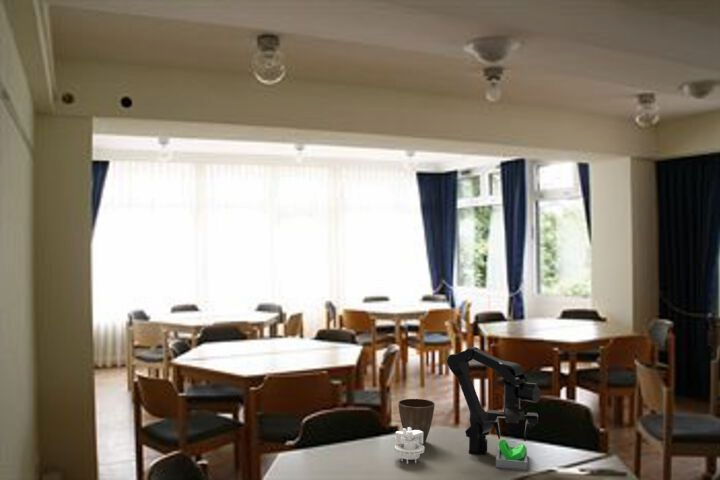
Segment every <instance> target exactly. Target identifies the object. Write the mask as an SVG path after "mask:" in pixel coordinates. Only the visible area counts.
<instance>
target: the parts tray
mask: <svg viewBox="0 0 720 480" xmlns="http://www.w3.org/2000/svg"><path fill="white" fill-rule="evenodd" d="M509 446H510V445H509ZM516 447H517V446H512V445H511V446H510V448H511V449H514V448H516ZM526 449H527V447H526ZM495 469H502V470H503V469H505V470H506V469H507V470H513V471H514V470H515V471H516V470H517V471H525V472H526V471H527V472H528V449H527V451H526V453H525V455H524V456H523V458H521V459H519V460H506V459H505V457H504V455H503V454H502V452H501V450H500V448H499V445H498V444H497V446H496V453H495Z"/></svg>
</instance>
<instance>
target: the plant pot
mask: <svg viewBox="0 0 720 480" xmlns="http://www.w3.org/2000/svg"><path fill="white" fill-rule="evenodd" d="M397 404H398V413H399V418H400V419H399V420H400V424H401V427H402V429H403V428H405V429H407V428H408V427H410V428H412V430H420V431H422V432H423V444H421V443H418V444H421V445H424V444H426V441H427V439H428V435H429V433H430V430H431V426H432V422H433V417H434V411H435V405H436V403H435V402H434V401H433V400H429V399H423V398H405V399H401V400H399V401H398V402H397ZM412 430H411V431H412Z"/></svg>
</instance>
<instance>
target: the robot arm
mask: <svg viewBox="0 0 720 480" xmlns="http://www.w3.org/2000/svg"><path fill="white" fill-rule="evenodd" d="M473 360H474V361H476V362H477V363H480V364H482V365H483V366H486V367H488V368H489V369H492V370H494V371H495V372H497V374H498V375H499V376H500V377H501V378H502V379H501V381H499V382H498V384H499V385H502V386H503V387H504V388H503V389H504V390H503V391H504V394H503V395H504V399H503V400H504V401H503V404H504V405H503V406H504V408H503V413H500V412H498V410H497V409H495V410H493V409H488V410H486V411H485V410H484V408H483V407H482V405H481V402H480V400H479V397H478V394H477V391H476V389H475V386H474V384H473V381H472V378H471V375H470V362H471V361H473ZM446 364H447V366H448V368H449V370H450V371H451V373H452V374H453V375H454V376H455V377H456V378H457V381H458V383H459V386H460V388H461V391H462V394H463V396H464V399H465V402H466V405H467V407H468V409H469V424H470V426H469V427H468V428H466V430H465V431H464V434H465V436H466V438H468V443H469V444H468V453H469V454H471V455H472V454H475V455H486V454H487V452H488V439H487V436H489V435H490V432H491V431H492V430H493V427H494V429H495V432H496V434H497V437H498V440H500V439H501V431H500V430H501V429H500V423H499V419H502V420H503V419H505V420H504V421H505V423H507V424H510V423H512V424H519V422H520V421H525V427H524V428H525V429H524V434H523V435H524V436H523V437H524V438H523V441H524V442H526V440H527V439H528V434H529V432H530V429H531V428H532V427H535V425H539V414H538V413H537V412H529V411H528V412H527V414H525V409H524V408H521V401H525V402H529V403H534V404H537V403H538V402H539V401H540V400H541V395H542V394H541V393H542V392H541V389H540V388H539V386H538V383H536V382H533V383H532V382H530V381H529V379H528V377H527V376H526V374H525V373H524V371H523V368H522V365H521V364H519V363H518V362H512V361H507V360H502V359H501V358H498V357H496V356H494V355H492V354H490V353H487V352H485V351H483V350H481V349H479V348H478V347H476V346H473V347H468V348H467V349H465V350H463V351H460V352H457V353H453V354H449V355H448V357H447V359H446Z"/></svg>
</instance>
